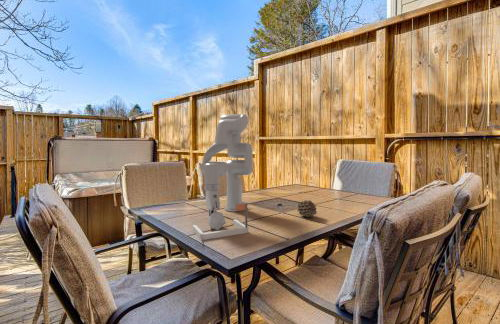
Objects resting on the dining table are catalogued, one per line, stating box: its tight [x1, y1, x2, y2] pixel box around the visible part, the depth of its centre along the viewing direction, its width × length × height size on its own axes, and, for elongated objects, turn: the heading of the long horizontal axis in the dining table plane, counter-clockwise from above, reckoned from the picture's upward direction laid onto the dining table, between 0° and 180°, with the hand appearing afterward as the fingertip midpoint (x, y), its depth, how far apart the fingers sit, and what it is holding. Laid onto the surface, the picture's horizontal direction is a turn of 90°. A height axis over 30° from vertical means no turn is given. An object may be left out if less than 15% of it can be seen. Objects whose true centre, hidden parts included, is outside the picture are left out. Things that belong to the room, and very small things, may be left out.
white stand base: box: [192, 202, 249, 241], centre depth 135 cm, size 23×16×14 cm
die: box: [206, 211, 227, 231], centre depth 139 cm, size 8×9×10 cm
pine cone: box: [293, 199, 318, 218], centre depth 163 cm, size 22×10×10 cm, turn 26°
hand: (212, 221), depth 146 cm, fingers closed
